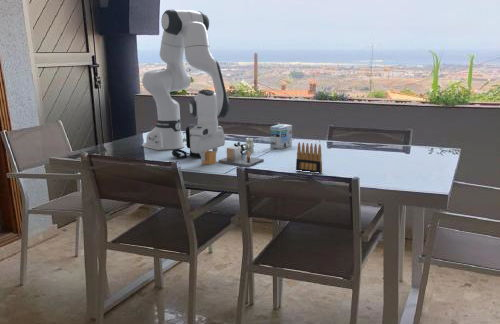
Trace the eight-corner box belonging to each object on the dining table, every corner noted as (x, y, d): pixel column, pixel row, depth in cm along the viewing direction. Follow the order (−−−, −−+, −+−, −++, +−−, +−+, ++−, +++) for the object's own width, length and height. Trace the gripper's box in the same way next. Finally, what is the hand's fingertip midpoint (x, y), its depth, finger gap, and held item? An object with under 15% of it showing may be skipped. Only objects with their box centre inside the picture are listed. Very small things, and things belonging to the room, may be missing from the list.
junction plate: (218, 162, 207) (218, 149, 206) (234, 157, 217) (233, 144, 215) (248, 167, 199) (248, 153, 197) (263, 161, 208) (263, 148, 207)
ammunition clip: (322, 173, 188) (322, 143, 186) (320, 174, 187) (321, 144, 184) (297, 169, 194) (297, 141, 191) (295, 170, 192) (296, 142, 189)
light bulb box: (280, 149, 233) (281, 127, 230) (269, 147, 237) (269, 126, 234) (292, 145, 241) (292, 124, 239) (281, 144, 245) (281, 123, 243)
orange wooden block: (201, 163, 206) (201, 152, 204) (208, 161, 209) (207, 150, 208) (209, 164, 203) (209, 153, 202) (215, 162, 207) (215, 151, 206)
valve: (246, 150, 231) (232, 155, 221) (245, 137, 229) (232, 141, 219) (257, 152, 227) (244, 156, 218) (257, 138, 226) (244, 143, 216)
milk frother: (213, 155, 222) (212, 123, 218) (192, 162, 209) (191, 129, 205) (189, 151, 229) (188, 121, 225) (168, 158, 216) (166, 126, 212)
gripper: (216, 124, 213) (217, 154, 216) (187, 131, 196) (188, 163, 199) (227, 125, 209) (228, 155, 213) (198, 132, 193) (200, 165, 196)
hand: (208, 159), depth 206 cm, fingers open, 5 cm apart
